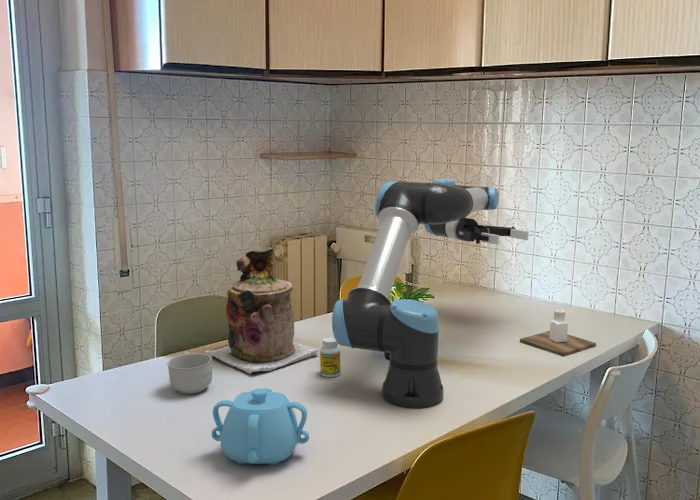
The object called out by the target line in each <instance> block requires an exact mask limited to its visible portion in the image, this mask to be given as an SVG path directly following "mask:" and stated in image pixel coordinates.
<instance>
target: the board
mask: <svg viewBox="0 0 700 500" xmlns="http://www.w3.org/2000/svg"><path fill="white" fill-rule="evenodd" d="M549 335H550V330H547V331H544V332H541V333H537V334H533V335H529V336H526V337H522V338H519V343H521V344H524V345H528V346H531V347H534V348H537V349H540V350H543V351H546V352H548V353H551V354H555V355H557V356H561V357H566V356H569V355H573V354H575V353H578V352H582V351H585V350H588V349H591V348H594V347H597V342H594V341H590V340H588V339H585V338H581V337H578V336H575V335H570V334H568V333H567V341H566V342H559V343H556V342H554V341H552V340H550V338H549Z"/></svg>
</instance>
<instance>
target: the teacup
mask: <svg viewBox="0 0 700 500" xmlns="http://www.w3.org/2000/svg"><path fill="white" fill-rule="evenodd" d="M212 361H213V357H212V356H210V355H208V354H205V353H204V352H203V353H202V352H189V351H183V353H182V354H179V355H176V356H173V357H172V358H170V359H169V360H168V361H167V363H166V364H167V367H168V368H167V369H168V376H169V382H170V385H171V387H172V388H173V389H174V390H176V391H177V392H178V393H181V394H184V395H193V394H198V393H201V392H204V390H205V389H207V387H208V386H209V385H211V383H212V380H213V364H212V363H213V362H212Z"/></svg>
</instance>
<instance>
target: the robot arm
mask: <svg viewBox="0 0 700 500" xmlns="http://www.w3.org/2000/svg"><path fill="white" fill-rule="evenodd" d="M375 201H376V202H375V208H374V209H375V216H376V217H377V219H378V222H379V224H380V225H379V229H378V231H377V234H376V237H375V240H374V242H373V244H372V247H371V251H369V252H370V253H369V256H368V258H367V260H366V263H365V266H364V269H363V272H362V275H361V276H360V277H361V278H360V279H359V282H358V285H357V287H353V288H352V289H351V290H350V291H349V292H348V295H347V298H346V299H344V298H342V299H338V300H336V302H335V304H334V306H333V310H332V315H331V328H332V334H333V338H335V340H336V341H337V343H338V345H340V346H344V347H348V348H351V349H360V350H365V351H372V352H373V351H374V352H380V353H388V354H389V365H388V369H387V372H386V375H385V379H384V381H383V383H382V387H381V397H382V398H383V399H384V401H386V402H387V403H389V404H392V405H395V406H398V407H403V408H412V409H415V408H416V409H417V408H419V409H420V408H427V407H428V408H429V407H431V406H435V405H438V404H439V403H441V402H442V401H443V400H444V387H443V386H444V385H443V384H442V380H441V376H440V372H439V369H438V355H439V354H438V353H439V351H438V350H439V331H440V325H439V313H438V311H437V309H436V308H434V307H433V306H432V305H430V304H428V303H425V302H423V301H419V300H415V299H408V298H407V299H396V300H392V302H391V300H390V296H391V292H392V289H393V286H394V283H395V281H396V277H397V274H398V271H399V269H400V265H401V263H402V260H403V256H404V254H405V251H406V248H407V244H408V242H409V238H410V236H411V235H413V234H415V233H416V232H417V231H418V229H419V226H420V224H421V225H423V226H424V228H425V229H424V230H426V232H427V233H428V234H431V235H434V236H436V237H443V238H449V239H454V240H456V241H457V240H458V241H463V242H469V243H470V242H475V244H478V245H479V244H481V242H482V243H486V244H491V245H498V246H499V245H500V237H510V238H512V239H516V240H517V239H518V240H524V241H528V240H529V235H530V234H529V233H530V232H529V231H528V230H522V229H518V228H516V227H515V226H511V227H510V226H509V227H507V226H493V225H489V224H488V225H484V224H479V223H478V222H477V220H476V219H473V218H468V216H469V215H470V214H471V213H474V212H477V211H481V210H484V211H490V210H491V211H495V210H496V209H497V207H498V205H499V190H498V188H497V187H493V186H474V185H473V186H471V185H470V186H469V185H460V184H459V185H458V184H456V181H455V179H453V178H436V179H434V180H433V182H418V181H417V182H416V181H402V180H396V181H388V182H386V183H384V184H383V185H382V186H381V187H380V189H379V191H378V193H377V196H376V200H375Z"/></svg>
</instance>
